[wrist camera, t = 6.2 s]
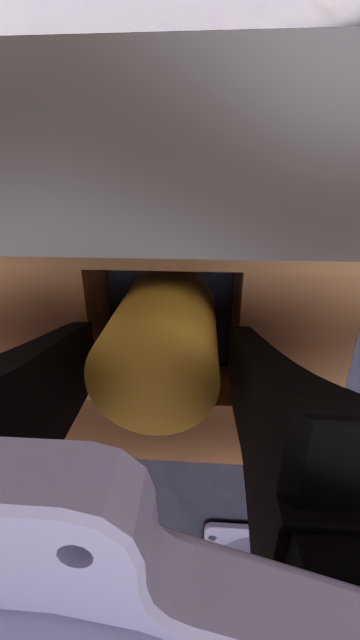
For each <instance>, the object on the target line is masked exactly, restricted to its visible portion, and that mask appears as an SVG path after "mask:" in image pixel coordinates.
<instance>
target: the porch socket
mask: <svg viewBox="0 0 360 640" xmlns="http://www.w3.org/2000/svg"><path fill="white" fill-rule="evenodd" d="M107 270H131V271H187V272H235V273H234V288H233V302H232V316H231V331H230V345H229V360H228V367H225V366H219V369H220V383H221V384H220V392H219V396H218V399H217V402H216V404H215V406H214V408H213V409H212V411H211V412H210V413H209V414H208V416H207V417H206V418H205V419H203V420H202V421H201V422H200V423H198V424H197V425H196V426H194V427H192V428H190V429H188V430H186V431H183V432H180V433H176V434H172V435H164V436H152V435H144V434H139V433H135V432H132V431H129V430H127V429H124V428H122V427H120V426H118V425H116V424H115V423H113V422H112V421H110V420H109V419H108V418H107V417H105V416H104V415H103V414H102V413H101V412H100V411H99V410H98V409H97V407H96V406H95V405H94V403H93V402H92V400H91V398H90V396H89V394H88V396H87V398H86V400H85V402H84V404H83V406H82V407H81V409H80V411H79V413H78V415H77V417H76V419H75V421H74V422H73V424H72V426H71V428H70V430H69V432H68V434H67V435H66V437H65V439H64V440H79V441H93V442H97V443H101V444H105V445H109V446H113V447H117V448H121V449H122V450H124V451H125V452H126V453H128V454H129V455H130V456H132V457H133V458H134V459H143V460H162V461H181V462H200V463H219V464H238V465H243V460H242V454H241V448H240V443H239V438H238V433H237V428H236V423H235V418H234V414H233V409H232V404H231V398H230V387H229V364H230V350H231V336H232V326H250V327H251V328H252V329H253V330H255V331H256V332H257V333H258V334H259V335H260V336H261V337H263V338H264V339H265V340H266V341H267V342H268V343H270V344H271V345H272V346H273V347H274V348H276V349H277V350H278V351H280V352H281V353H282V354H284V355H285V356H286V357H288V358H289V359H291V360H292V361H294V362H295V363H297V364H298V365H300V366H302V367H303V368H305V369H307V370H309V371H310V372H312V373H314V374H316V375H318V376H320V377H322V378H324V379H326V380H328V381H330V382H332V383H335V384H337V385H339V386H342V387H344V388H345V385H346V381H347V377H348V373H349V369H350V364H351V360H352V356H353V352H354V348H355V344H356V340H357V336H358V332H359V328H360V26H355V27H318V28H280V29H242V30H205V31H167V32H130V33H92V34H54V35H17V36H0V353H2V352H4V351H7V350H9V349H12V348H14V347H17V346H19V345H21V344H24V343H26V342H28V341H31V340H33V339H35V338H37V337H40V336H42V335H44V334H46V333H48V332H50V331H53V330H55V329H57V328H59V327H62V326H64V325H66V324H69V323H72V322H91V323H92V331H93V339H94V343H95V342H96V340H97V339H98V337H99V336H100V334H101V332H102V331H103V329H104V328H105V326H106V325H107V323H108V322H109V320H110V318H111V313H110V302H109V291H108V281H107Z"/></svg>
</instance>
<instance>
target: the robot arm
mask: <svg viewBox="0 0 360 640" xmlns="http://www.w3.org/2000/svg"><path fill="white" fill-rule="evenodd" d="M93 345H94V339H93V331H92V323H91V322H72V323H69V324H66V325H64V326H62V327H59V328H57V329H55V330H53V331H50V332H48V333H46V334H44V335H42V336H40V337H37V338H35V339H33V340H31V341H28V342H26V343H24V344H21V345H19V346H17V347H14V348H12V349H9V350H7V351H4V352H2V353H0V640H360V393H357V392H354V391H352V390H349V389H346V388H344V387H342V386H339V385H337V384H335V383H332V382H330V381H328V380H326V379H324V378H322V377H320V376H318V375H316V374H314V373H312V372H310V371H309V370H307V369H305V368H303V367H302V366H300V365H298V364H297V363H295V362H294V361H292V360H291V359H289V358H288V357H286V356H285V355H284V354H282V353H281V352H280V351H278V350H277V349H276V348H274V347H273V346H272V345H271V344H270V343H268V342H267V341H266V340H265V339H264V338H263V337H261V336H260V335H259V334H258V333H257V332H256V331H255V330H253V329H252V328H251V327H250V326H232V336H231V350H230V364H229V387H230V398H231V404H232V409H233V414H234V418H235V423H236V428H237V433H238V438H239V443H240V448H241V454H242V460H243V470H244V480H245V491H246V503H247V514H248V524H237V523H221V522H209V523H207V524H206V525H205V527H204V539H202V538H198V537H195V536H192V535H188V534H185V533H182V532H179V531H175V530H172V529H169V528H165V527H162V526H160V524H159V520H158V516H157V504H156V489H155V487H154V485H153V482H152V480H151V477H150V475H149V473H148V470H147V468H146V467H145V466H144V465H142V464H141V463H140V462H138V461H137V460H136V459H134V458H133V457H132V456H130V455H129V454H128V453H126V452H125V451H124V450H122V449H121V448H117V447H113V446H109V445H105V444H101V443H97V442H93V441H79V440H64V439H65V437H66V435H67V434H68V432H69V430H70V428H71V426H72V424H73V422H74V421H75V419H76V417H77V415H78V413H79V411H80V409H81V407H82V406H83V404H84V402H85V400H86V398H87V396H88V392H87V389H86V385H85V379H84V367H85V362H86V359H87V356H88V353H89V352H90V350H91V348H92V346H93Z"/></svg>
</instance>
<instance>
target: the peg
mask: <svg viewBox="0 0 360 640" xmlns="http://www.w3.org/2000/svg"><path fill="white" fill-rule="evenodd" d="M84 379H85V385H86V389H87V392H88V394H89V396H90V398H91V400H92V402H93V403H94V405H95V406H96V407H97V409H98V410H99V411H100V412H101V413H102V414H103V415H104V416H105V417H107V418H108V419H109V420H110V421H112V422H113V423H115V424H116V425H118V426H120V427H122V428H124V429H127V430H129V431H132V432H135V433H139V434H144V435H152V436H164V435H172V434H176V433H180V432H183V431H186V430H188V429H190V428H192V427H194V426H196V425H197V424H198V423H200V422H201V421H202V420H203V419H205V418H206V417H207V416H208V414H209V413H210V412H211V411H212V409H213V408H214V406H215V404H216V402H217V399H218V396H219V392H220V384H221V383H220V369H219V356H218V343H217V331H216V318H215V305H214V298H213V294H212V291H211V289H210V287H209V285H208V284H207V283H206V281H205V280H204V279H203V278H202V277H201V276H200V275H199V274H198V273H196V272H187V271H145V272H143V273H142V274H141V275H140V276H139V277H138V278H137V279H136V280H135V281H134V283H133V284H132V286H131V287H130V289H129V290H128V292H127V294H126V295H125V297H124V298H123V300H122V301H121V303H120V304H119V306H118V308H117V309H116V311H115V312H114V314H113V315H112V317H111V318H110V320H109V322H108V323H107V325H106V326H105V328H104V329H103V331H102V332H101V334H100V336H99V337H98V339H97V340H96V342H95V343H94V345H93V346H92V348H91V350H90V352H89V353H88V356H87V359H86V362H85V367H84Z"/></svg>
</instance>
